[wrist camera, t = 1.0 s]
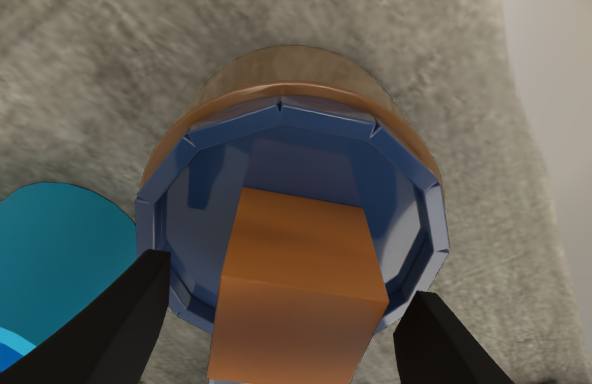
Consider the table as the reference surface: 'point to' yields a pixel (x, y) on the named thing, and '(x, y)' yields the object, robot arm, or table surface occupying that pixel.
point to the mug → (55, 260)
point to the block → (295, 292)
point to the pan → (291, 171)
